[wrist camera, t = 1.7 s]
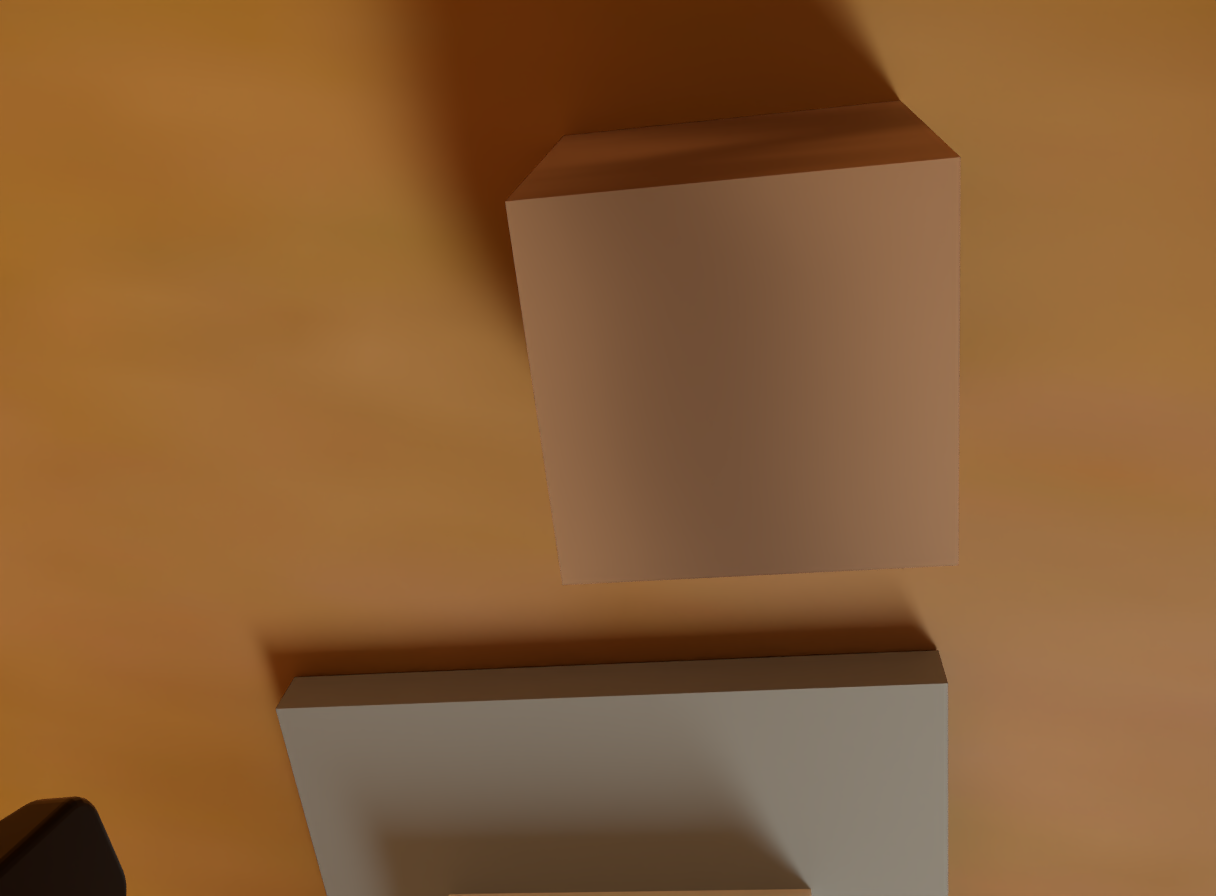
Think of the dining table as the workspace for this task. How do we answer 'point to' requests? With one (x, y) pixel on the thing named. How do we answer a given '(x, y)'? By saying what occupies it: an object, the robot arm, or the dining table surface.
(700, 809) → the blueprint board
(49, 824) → the robot arm
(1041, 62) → the dining table surface
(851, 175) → the walnut block
